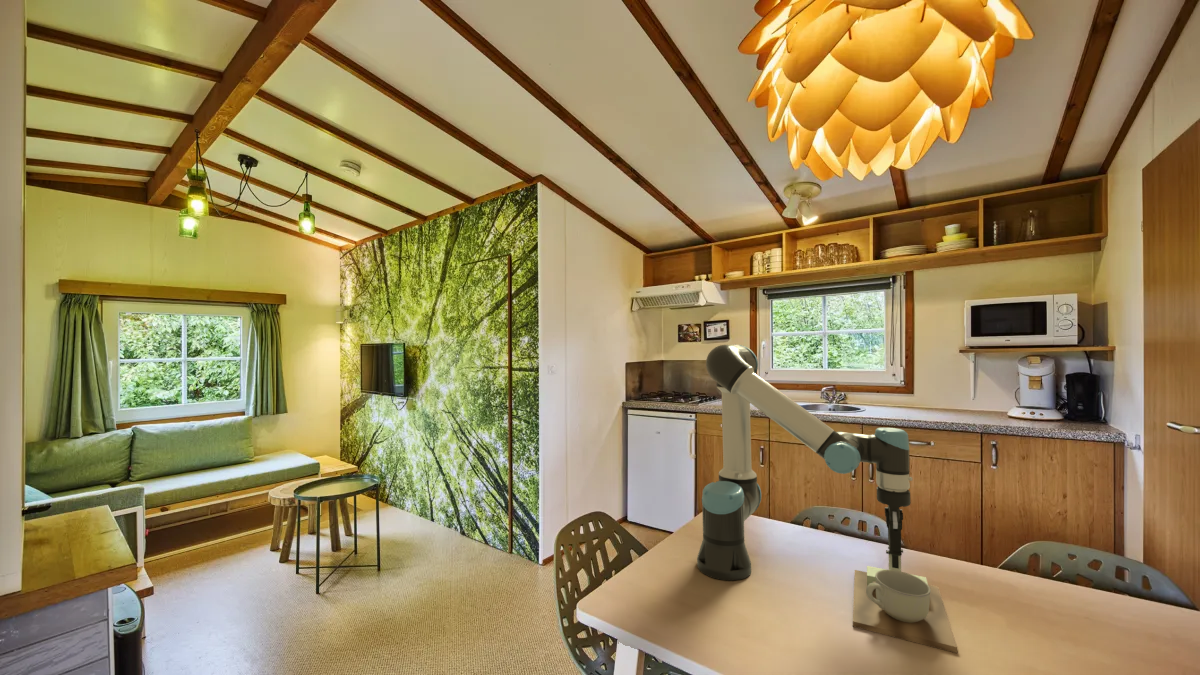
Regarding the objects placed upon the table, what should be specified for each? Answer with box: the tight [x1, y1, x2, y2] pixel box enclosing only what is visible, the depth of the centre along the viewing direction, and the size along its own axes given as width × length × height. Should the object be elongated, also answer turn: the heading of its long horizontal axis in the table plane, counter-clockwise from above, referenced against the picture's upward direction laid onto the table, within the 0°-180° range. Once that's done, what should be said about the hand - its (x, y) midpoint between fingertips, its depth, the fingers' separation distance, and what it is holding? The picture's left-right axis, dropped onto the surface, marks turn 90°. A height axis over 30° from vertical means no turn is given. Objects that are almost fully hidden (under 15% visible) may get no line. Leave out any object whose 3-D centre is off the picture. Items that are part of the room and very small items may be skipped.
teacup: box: [866, 569, 931, 623], centre depth 107 cm, size 14×11×8 cm
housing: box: [866, 565, 929, 586], centre depth 117 cm, size 13×6×4 cm, turn 60°
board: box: [852, 569, 958, 654], centre depth 112 cm, size 19×28×3 cm
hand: (895, 578), depth 121 cm, fingers closed
